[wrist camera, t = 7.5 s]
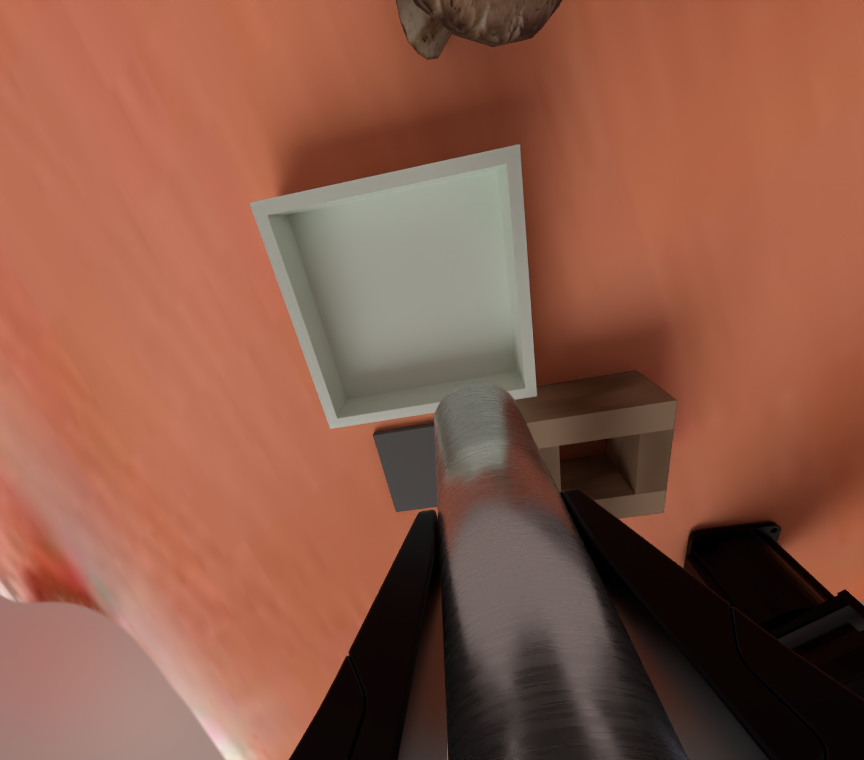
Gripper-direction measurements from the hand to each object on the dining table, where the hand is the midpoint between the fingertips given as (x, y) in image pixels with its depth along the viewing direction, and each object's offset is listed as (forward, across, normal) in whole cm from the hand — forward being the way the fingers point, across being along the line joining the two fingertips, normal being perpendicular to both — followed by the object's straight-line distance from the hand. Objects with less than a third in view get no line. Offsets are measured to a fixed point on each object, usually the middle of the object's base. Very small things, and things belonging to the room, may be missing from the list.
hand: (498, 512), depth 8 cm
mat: (+14, +3, +10) cm, 17 cm away
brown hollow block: (+14, -7, +8) cm, 17 cm away
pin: (+4, 0, 0) cm, 4 cm away
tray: (+14, +2, -2) cm, 14 cm away
